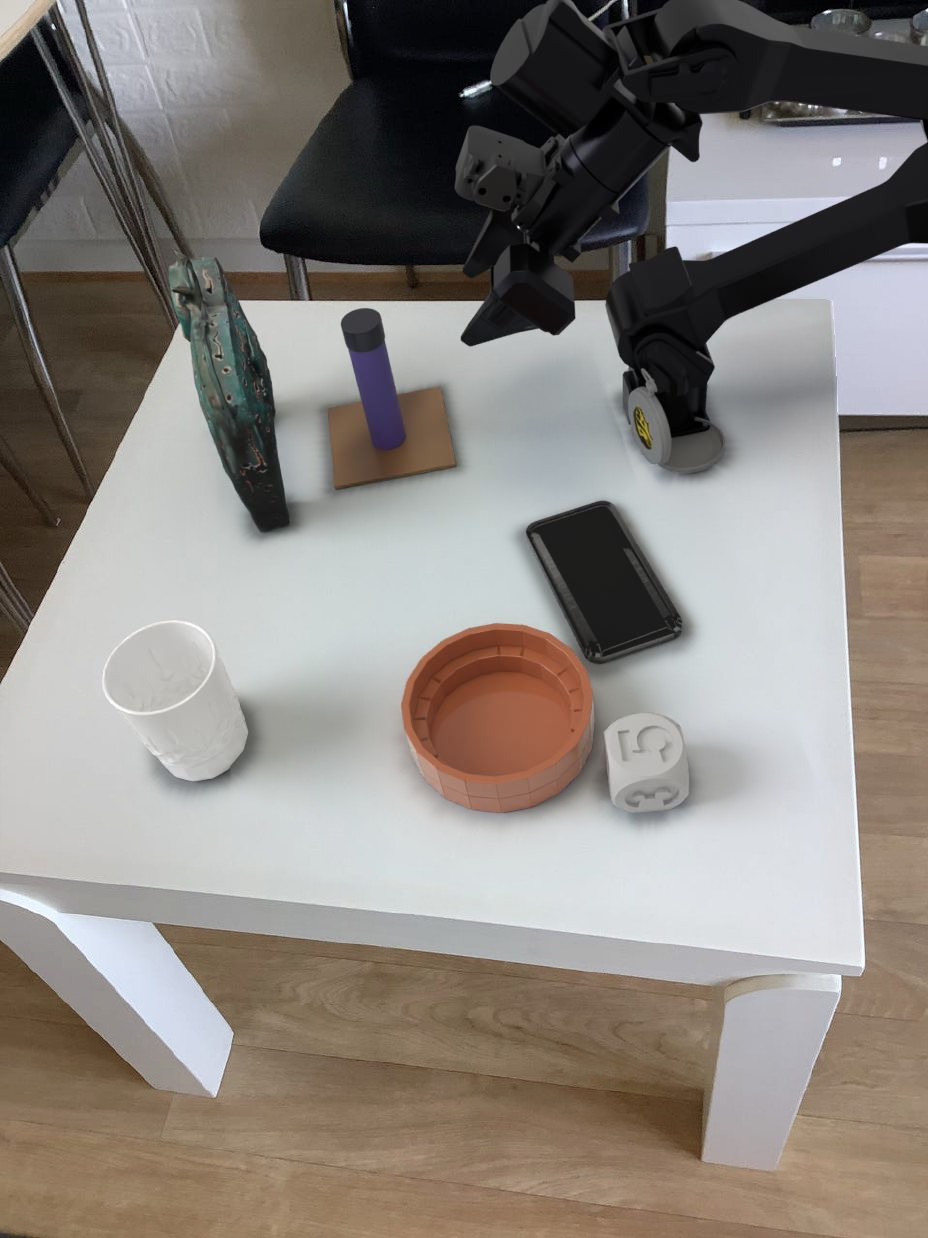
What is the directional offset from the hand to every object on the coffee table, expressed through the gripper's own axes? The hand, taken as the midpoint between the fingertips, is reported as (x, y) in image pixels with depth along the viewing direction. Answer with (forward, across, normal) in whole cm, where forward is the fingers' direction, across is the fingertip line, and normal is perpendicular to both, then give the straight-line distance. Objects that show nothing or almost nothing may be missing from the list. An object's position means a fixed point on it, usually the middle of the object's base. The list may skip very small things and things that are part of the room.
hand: (465, 307), depth 86 cm
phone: (+3, +19, +16) cm, 25 cm away
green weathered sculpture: (+24, +2, -5) cm, 25 cm away
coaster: (+16, 0, +3) cm, 16 cm away
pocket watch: (-2, +4, +22) cm, 22 cm away
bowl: (+9, +32, +11) cm, 35 cm away
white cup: (+24, +32, -5) cm, 41 cm away
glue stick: (+16, 0, +3) cm, 16 cm away
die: (+2, +37, +18) cm, 41 cm away
